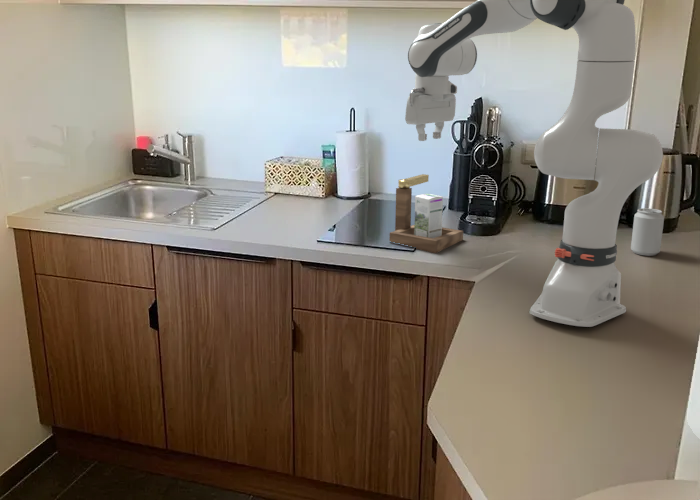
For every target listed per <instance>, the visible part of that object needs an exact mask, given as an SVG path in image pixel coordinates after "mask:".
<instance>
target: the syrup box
mask: <svg viewBox="0 0 700 500" xmlns="http://www.w3.org/2000/svg"><path fill="white" fill-rule="evenodd" d="M414 196H415V197H414V225H415V228H414V235H417V236H423V237H429V238H436V237H439V236H441V235H442V227H443V209H444V208H443V207H444V205H443V203H444V196H440V195H438V194H437V195H436V194H431V193H422V194H419V195H414Z"/></svg>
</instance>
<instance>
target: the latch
mask: <svg viewBox="0 0 700 500" xmlns="http://www.w3.org/2000/svg"><path fill="white" fill-rule="evenodd" d="M424 183H429V174H424V173H422V174H418V175H415V176H411V177H407V178H403V179H398V183H397V184H398V187H397V188H412V187H414V186H417V185H421V184H424Z"/></svg>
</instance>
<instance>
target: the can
mask: <svg viewBox="0 0 700 500" xmlns="http://www.w3.org/2000/svg"><path fill="white" fill-rule="evenodd" d="M662 213H663V211H662V210H661V209H656V208H648V207H647V208H645V207H644V208H642V207H641V208H638V209H637V212H636V213H635V214H634V217H633V224H632V234H631V235H632V236H631V244H630V249H631V251H632V252H633V253H634V254H637V255H640V256H649V257H650V256H651V257H652V256H656V255H657V254H659V253H661V247H662V239H663V238H662V237H663V232H664V231H663V229H664V221H665V216H664V215H663V214H662Z"/></svg>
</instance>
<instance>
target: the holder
mask: <svg viewBox="0 0 700 500" xmlns="http://www.w3.org/2000/svg"><path fill="white" fill-rule="evenodd" d="M412 190H413V188H412V187H410V188H399V187H397V188H395V217H394V218H395V219H394V220H395V223H394V226H395V227H394V229H395V230H393V231H391V232H390V231H389V238H388V239H389V241H391V242H395V243H400V244H404V245H408V246H412V247H416V249H415V250H419V251H423V252H429V253H431V254H437V253H439V252H441V251H444V250H446V249H447V248H449V247H451V246H453V245H456V244H457V243H459V242H461V241H463V240H464V230H460V229H454V228H448V227H443V226H442V235H441V236H439V237H436V238H429V237H423V236H417V235H414V228H415V224H412V193H413V192H412Z"/></svg>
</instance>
